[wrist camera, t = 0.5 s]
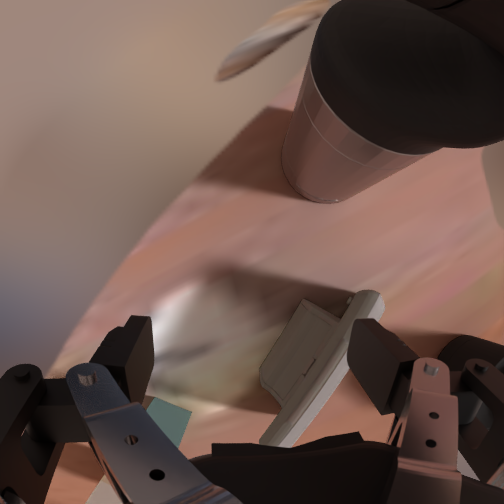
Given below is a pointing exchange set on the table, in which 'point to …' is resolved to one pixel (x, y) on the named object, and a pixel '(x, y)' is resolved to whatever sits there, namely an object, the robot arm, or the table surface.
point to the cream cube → (103, 495)
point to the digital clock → (310, 363)
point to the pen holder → (474, 349)
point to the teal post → (169, 419)
